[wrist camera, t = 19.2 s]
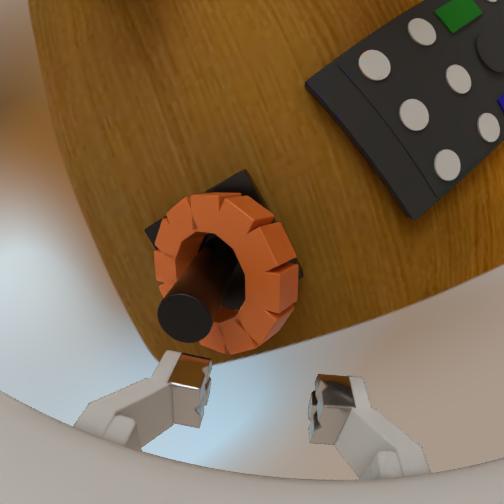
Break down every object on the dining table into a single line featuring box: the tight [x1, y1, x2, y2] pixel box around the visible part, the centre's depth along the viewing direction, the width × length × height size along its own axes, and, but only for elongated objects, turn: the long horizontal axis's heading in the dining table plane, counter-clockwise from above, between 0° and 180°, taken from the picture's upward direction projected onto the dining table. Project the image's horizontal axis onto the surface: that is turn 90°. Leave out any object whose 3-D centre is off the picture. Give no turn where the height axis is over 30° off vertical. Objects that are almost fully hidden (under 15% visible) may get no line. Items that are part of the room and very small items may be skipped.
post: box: [145, 169, 303, 343], centre depth 18 cm, size 8×8×10 cm
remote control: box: [305, 0, 504, 221], centre depth 14 cm, size 11×30×2 cm, turn 131°
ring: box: [154, 192, 299, 355], centre depth 18 cm, size 9×9×2 cm
